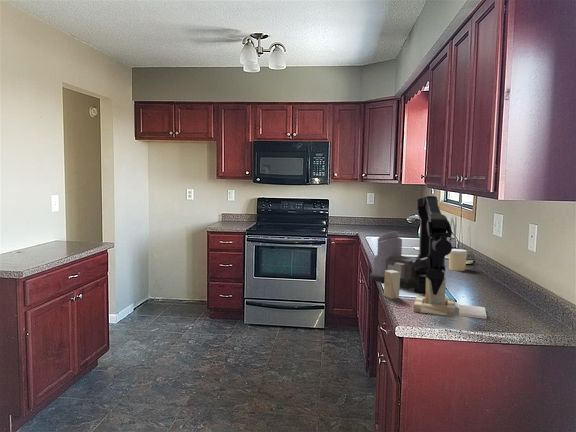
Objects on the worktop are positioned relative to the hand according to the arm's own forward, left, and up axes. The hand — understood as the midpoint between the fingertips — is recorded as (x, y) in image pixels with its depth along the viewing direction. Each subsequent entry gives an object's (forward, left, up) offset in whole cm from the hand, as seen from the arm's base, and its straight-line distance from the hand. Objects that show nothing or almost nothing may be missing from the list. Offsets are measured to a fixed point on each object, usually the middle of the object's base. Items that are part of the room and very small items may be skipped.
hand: (435, 292), depth 167 cm
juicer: (-39, -20, -6) cm, 44 cm away
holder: (0, 0, -6) cm, 6 cm away
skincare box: (0, 0, -6) cm, 6 cm away
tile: (0, +13, -6) cm, 14 cm away
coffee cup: (-80, +8, -6) cm, 81 cm away
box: (-10, -17, -6) cm, 21 cm away
